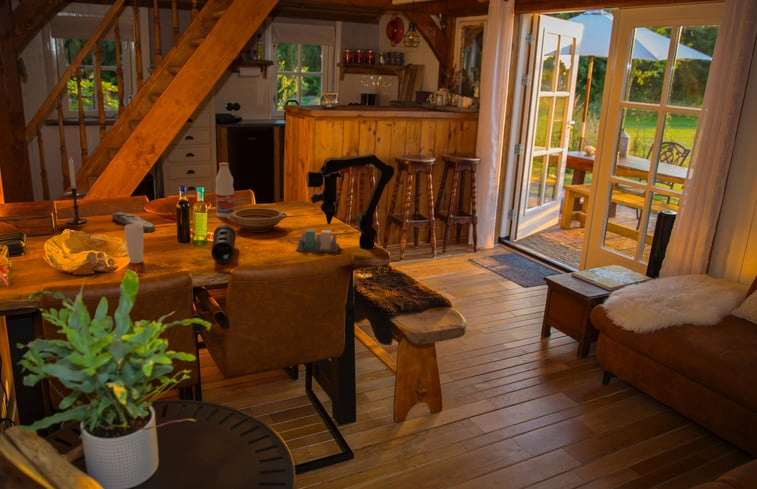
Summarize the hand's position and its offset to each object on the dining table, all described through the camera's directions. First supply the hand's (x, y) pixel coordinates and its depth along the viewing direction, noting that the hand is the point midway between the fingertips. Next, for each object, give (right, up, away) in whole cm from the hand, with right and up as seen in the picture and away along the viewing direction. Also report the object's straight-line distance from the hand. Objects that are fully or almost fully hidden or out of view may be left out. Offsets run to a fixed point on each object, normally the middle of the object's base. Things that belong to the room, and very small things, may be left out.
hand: (329, 221), depth 267 cm
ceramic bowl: (-38, -3, +30) cm, 48 cm away
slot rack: (-6, -12, +2) cm, 13 cm away
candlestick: (-126, +1, +27) cm, 129 cm away
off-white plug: (-2, -11, +2) cm, 11 cm away
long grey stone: (-99, -1, +28) cm, 103 cm away
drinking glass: (-76, -17, -26) cm, 82 cm away
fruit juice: (-60, +5, +52) cm, 79 cm away
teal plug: (-9, -11, +2) cm, 14 cm away
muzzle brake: (-44, -15, -12) cm, 48 cm away
